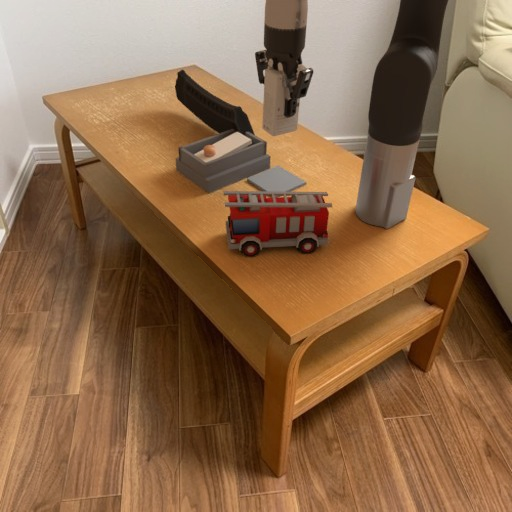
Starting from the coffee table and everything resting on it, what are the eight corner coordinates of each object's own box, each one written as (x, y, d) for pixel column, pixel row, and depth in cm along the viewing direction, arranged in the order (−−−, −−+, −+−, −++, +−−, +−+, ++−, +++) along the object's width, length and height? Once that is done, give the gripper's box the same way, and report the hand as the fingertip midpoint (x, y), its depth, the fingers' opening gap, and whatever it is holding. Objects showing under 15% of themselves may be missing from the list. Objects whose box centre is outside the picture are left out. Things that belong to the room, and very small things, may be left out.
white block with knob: (237, 135, 124) (236, 125, 122) (251, 143, 121) (250, 133, 119) (194, 158, 119) (192, 148, 117) (208, 167, 116) (206, 157, 114)
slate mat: (306, 184, 118) (306, 181, 118) (274, 198, 114) (275, 196, 113) (278, 167, 123) (278, 165, 123) (247, 180, 119) (247, 178, 118)
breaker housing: (236, 148, 130) (236, 124, 127) (270, 168, 123) (271, 143, 120) (176, 170, 122) (174, 145, 118) (208, 193, 115) (207, 167, 111)
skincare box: (274, 137, 108) (277, 76, 100) (260, 128, 111) (263, 68, 103) (298, 130, 111) (303, 70, 103) (285, 122, 114) (289, 63, 106)
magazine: (258, 118, 119) (178, 43, 130) (246, 125, 118) (167, 49, 129) (258, 167, 134) (186, 96, 145) (247, 174, 133) (176, 102, 144)
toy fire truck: (223, 229, 105) (222, 184, 99) (320, 225, 107) (325, 180, 101) (226, 259, 98) (225, 212, 92) (330, 253, 100) (336, 207, 94)
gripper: (329, 27, 95) (319, 119, 106) (274, 8, 104) (270, 95, 115) (298, 35, 92) (291, 130, 102) (243, 14, 100) (242, 104, 111)
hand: (280, 111), depth 108 cm, fingers closed on skincare box, 4 cm apart
